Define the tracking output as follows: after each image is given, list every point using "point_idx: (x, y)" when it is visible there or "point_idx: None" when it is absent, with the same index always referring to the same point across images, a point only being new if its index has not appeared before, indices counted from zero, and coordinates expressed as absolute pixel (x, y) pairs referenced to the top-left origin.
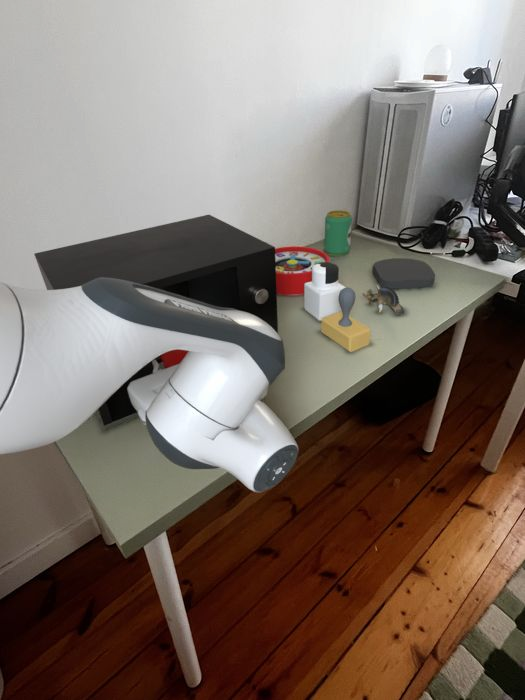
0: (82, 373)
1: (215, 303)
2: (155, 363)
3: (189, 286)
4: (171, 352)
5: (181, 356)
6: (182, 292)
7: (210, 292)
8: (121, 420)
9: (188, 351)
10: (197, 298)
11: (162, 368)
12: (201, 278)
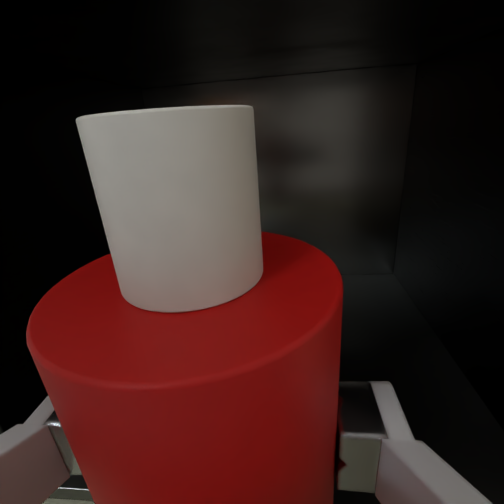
0: None
1: (479, 233)
2: (37, 409)
3: (405, 201)
4: (56, 410)
5: (126, 495)
6: (385, 212)
7: (469, 199)
8: (58, 491)
9: (210, 477)
10: (417, 226)
11: (73, 457)
12: (448, 165)
